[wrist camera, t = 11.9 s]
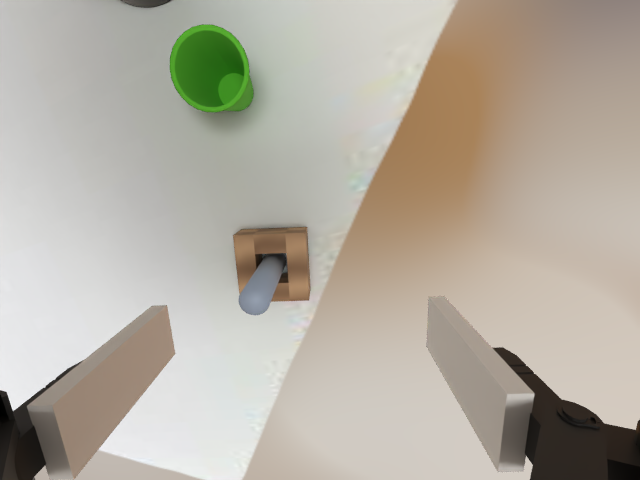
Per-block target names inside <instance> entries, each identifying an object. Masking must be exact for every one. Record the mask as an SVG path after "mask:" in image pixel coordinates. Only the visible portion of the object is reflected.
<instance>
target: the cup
mask: <svg viewBox="0 0 640 480" xmlns="http://www.w3.org/2000/svg"><path fill="white" fill-rule="evenodd" d="M170 73H171V78H172V81H173V83H174V86H175V88H176V90H177V91H178V93H179V94H180V96H181V97H182V98H183V99H184V100H185V101H186V102H187V103H188V104H189V105H191V106H193V107H194V108H196V109H198V110H201V111H205V112H220V111H224V110H227V111H241V110H243V109H245V108H247V107H248V106H249V105H250V103H251V101H252V99H253V86H252V83H251V79H250V76H249V64H248V59H247V56H246V53H245V50H244V49H243V47H242V45H241V44H240V42H239V41H238V40H237V39H236V38H235V37H234V36H233V35H232V34H231V33H230V32H228V31H226V30H225V29H223V28H221V27H218V26H214V25H199V26H195V27H192V28H190V29H188V30H187V31H185V32H184V33H183V34H182V35H181V36H180V37H179V38H178V39H177V41H176V43H175V44H174V46H173V48H172V52H171V56H170Z"/></svg>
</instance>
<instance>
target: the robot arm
mask: <svg viewBox="0 0 640 480" xmlns="http://www.w3.org/2000/svg"><path fill="white" fill-rule="evenodd" d="M121 1H123V2H125V3H128V4H131V5H134V6H139V7H154V6H158V5H161V4H164V3H166V2H168V1H170V0H121ZM428 301H429V302H428V323H427V348H428V350H429V352H430V353H431V355H432V357H433V359H434V361H435V362H436V364H437V366H438V367H439V369H440V371H441V373H442V374H443V376H444V378H445V380H446V382H447V383H448V385H449V387H450V388H451V390H452V392H453V394H454V395H455V397H456V399H457V401H458V403H459V404H460V406H461V408H462V410H463V411H464V413H465V415H466V417H467V419H468V420H469V422H470V424H471V425H472V427H473V429H474V431H475V433H476V434H477V436H478V438H479V440H480V441H481V442H482V445H483V446H484V448H485V450H486V452H487V454H488V455H489V457H490V459H491V461H492V462H493V464H494V466H495V468H496V469H497V471H498V472H514V471H515V472H516V471H517V472H519V471H524V464H525V457H526V456H527V457H528V458H529V460H530V461H531V463H532V464H533V468H532V473H531V478H530V480H640V420H639V421H638V423H637V428H636V430H633V429H628V428H623V427H618V426H613V425H608V424H604V423H603V422H602V420H601V419H600V418H599V417H598V416H597V415H596V414H594V413H593V412H591V411H590V410H588V409H587V408H585V407H583V406H580V405H578V404H576V403H573V402H569V401H565V400H561V399H560V398H559V397H558V396H557V395H556V394H555V393H554V392H553V391H552V390H551V389H550V388H549V387H548V386H547V385H546V384H545V383H544V382H543V381H542V380H541V379H540V378H539V377H538V376H537V375H536V374H534V372H533V371H532V370H531V369H530V368H529V367H528V366H526V364H525V363H524V362H523V361H521V359H520V358H519V357H518V356H517V355H515V354H513V353H511V352H510V351H508V350H506V349H504V348H492V347H491V346H490V345H489V344H488V343H487V342H486V341H485V340H484V339H483V337H482V336H481V335H480V334H479V333H478V332H477V331H476V330H475V329H474V328H473V327H472V326H471V325H470V324H469V322H468V321H467V320H466V319H465V318H464V317H463V316H462V315H461V314H460V313H459V312H458V311H457V310H456V308H455V307H454V306H453V305H452V304H451V303H450V302H449V301H448V300H447V299H446V298H445V297H444V296H441V297H429V300H428ZM174 355H175V350H174V344H173V338H172V332H171V326H170V320H169V315H168V309H167V305H164V306H151V307H150V308H149V309H147V310H146V311H145V312H144V313H142V314H141V315H140V316H139V317H137V318H136V319H135V320H134V321H132V322H131V323H130V324H129V325H127V326H126V327H125V328H124V329H122V330H121V331H120V332H119V333H117V334H116V335H115V336H114V337H112V338H111V339H110V340H109V341H107V342H106V343H105V344H104V345H102V346H101V347H100V348H99V349H97V350H96V351H95V352H94V353H92V354H91V355H90V356H89V357H87V358H86V359H85V360H83V361H81V362H79V363H78V364H76V365H74V366H72V367H70V368H68V369H67V370H66V371H64V372H63V373H62V374H60V375H59V376H58V377H57V378H56V380H53V381H52V382H50V383H49V384H48V385H46V387H45V388H43V389H41V390H40V391H39V392H37V393H36V394H35V395H34V396H32V397H31V398H30V399H29V400H27V401H26V402H25V403H23V404H22V405H21V406H20V407H18V408H17V409H16V410H14V411H12V408H11V405H10V401H9V398H8V395H7V392H5V391H0V480H35V478H34V476H35V475H36V474H37V473H38V472H39V471H40V470H41V469H42V468H43V467H44V466H46V469H47V472H48V475H49V479H50V480H74V479H75V478H76V476H77V475H78V474H79V473H80V471H81V470H82V469H83V468H84V467H85V465H86V464H87V462H88V461H89V460H90V459H91V458H92V456H93V455H94V454H95V453H96V452H97V450H98V449H99V448H100V447H101V445H102V444H103V443H104V442H105V440H106V439H107V438H108V437H109V435H110V434H111V433H112V432H113V430H114V429H115V428H116V427H117V425H118V424H119V423H120V422H121V421H122V419H123V418H124V417H125V416H126V414H127V413H128V412H129V411H130V409H131V408H132V407H133V406H134V404H135V403H136V402H137V401H138V399H139V398H140V397H141V396H142V394H143V393H144V392H145V391H146V389H147V388H148V387H149V386H150V384H151V383H152V382H153V381H154V379H155V378H156V377H157V376H158V375H159V373H160V372H161V371H162V370H163V368H164V367H165V366H166V365H167V363H168V362H169V361H170V360H171V358H172V357H173V356H174Z"/></svg>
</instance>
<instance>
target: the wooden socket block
mask: <svg viewBox="0 0 640 480" xmlns="http://www.w3.org/2000/svg"><path fill="white" fill-rule="evenodd" d="M233 239H234V248H235V257H236V266H237V275H238V284H239V293H241V292H242V290H243V289H244V287H245V286H246V284H247V283H248V281H249V280H250V278H251V277H252V275H253V274H254V272H255V271H256V269H257V268H258V266H259V265H260V263H261V262H262V254H272V253H287V266H288V273H282V275H281V277H280V280H279V282H278V285H277V287H276V290H275V292H274V295H273V297H272V300H271V301H301V300H309V296H310V273H309V254H308V235H307V227H295V228H269V229H243V230H240V231H239V232H237V233H236V234H234V235H233Z"/></svg>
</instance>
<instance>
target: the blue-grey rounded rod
mask: <svg viewBox="0 0 640 480" xmlns="http://www.w3.org/2000/svg"><path fill="white" fill-rule="evenodd" d="M285 265H286V256H285V255H284V253H272V254H266V256H265V257H264V259H263V260H262V262H261V263H260V265H259V266H258V268H257V269H256V271H255V272H254V274H253V275H252V277H251V278H250V280H249V281H248V283H247V284H246V286H245V287H244V289H243V290H242V292H241V293H240V295H239V304H240V307H241V308H242V310H243V311H245V312H246V313H248V314H251V315H260V314H262V313H264V312H265V311H266V310H267V309H268V307H269V305H270V302H271V300H272V297H273V295H274V292H275V290H276V287H277V285H278V282H279V280H280V277H281V275H282V272H283V270H284V267H285Z"/></svg>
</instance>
